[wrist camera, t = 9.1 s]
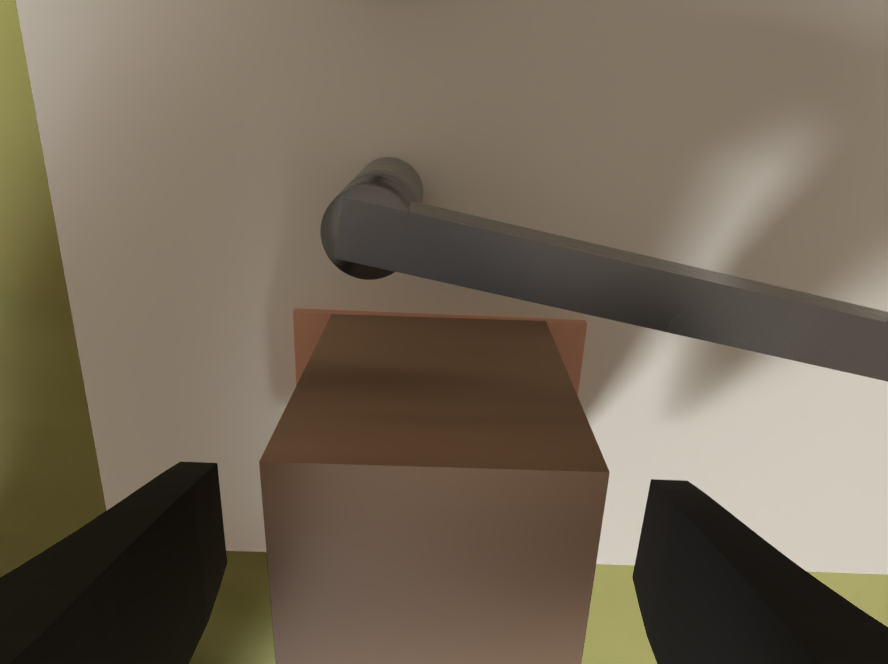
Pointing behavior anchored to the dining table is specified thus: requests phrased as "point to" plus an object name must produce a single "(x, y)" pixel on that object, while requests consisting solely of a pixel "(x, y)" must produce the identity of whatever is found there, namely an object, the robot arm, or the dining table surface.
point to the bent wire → (589, 276)
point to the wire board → (484, 195)
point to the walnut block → (432, 498)
